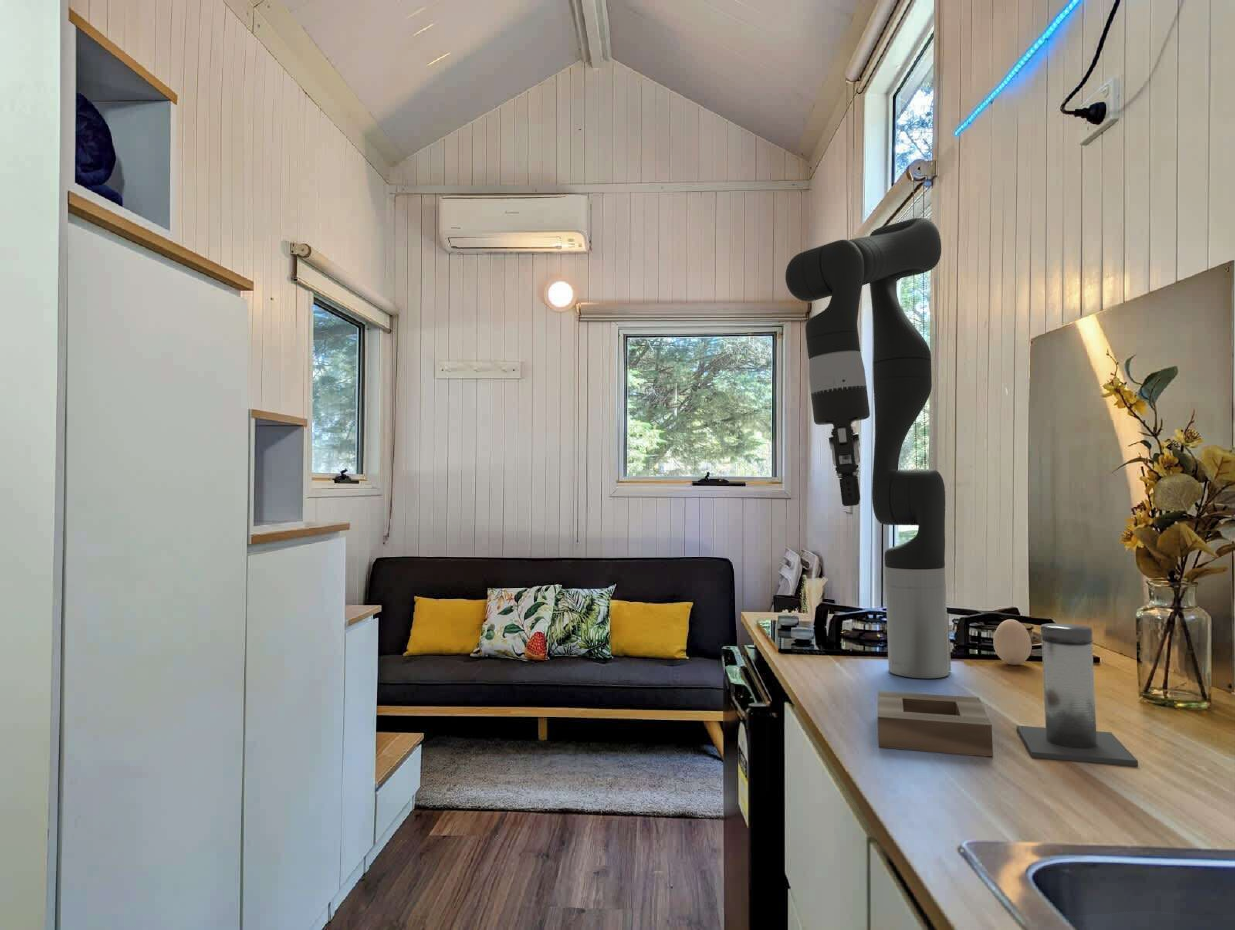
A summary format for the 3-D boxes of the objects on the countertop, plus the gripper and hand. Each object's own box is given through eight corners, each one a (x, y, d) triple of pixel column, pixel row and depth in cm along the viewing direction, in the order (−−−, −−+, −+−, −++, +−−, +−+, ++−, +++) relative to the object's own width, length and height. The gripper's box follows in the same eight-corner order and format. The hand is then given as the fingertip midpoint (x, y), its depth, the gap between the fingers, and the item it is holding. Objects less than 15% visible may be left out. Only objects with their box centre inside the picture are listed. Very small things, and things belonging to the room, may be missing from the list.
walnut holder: (879, 718, 99) (878, 691, 99) (980, 725, 95) (978, 697, 95) (878, 747, 87) (877, 716, 87) (993, 757, 83) (991, 725, 83)
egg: (1033, 669, 123) (1031, 622, 124) (994, 666, 126) (992, 621, 126) (1031, 662, 129) (1029, 617, 129) (993, 659, 131) (992, 616, 131)
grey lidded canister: (1057, 731, 90) (1052, 621, 90) (1105, 742, 86) (1099, 627, 86) (1037, 740, 87) (1032, 626, 87) (1085, 751, 83) (1080, 632, 83)
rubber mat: (1016, 730, 92) (1016, 725, 92) (1111, 737, 89) (1110, 732, 89) (1031, 757, 83) (1031, 751, 83) (1138, 766, 80) (1137, 760, 80)
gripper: (866, 379, 97) (881, 504, 96) (866, 388, 110) (879, 498, 110) (806, 387, 99) (820, 509, 99) (814, 395, 113) (826, 503, 112)
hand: (851, 503), depth 104 cm, fingers open, 8 cm apart
